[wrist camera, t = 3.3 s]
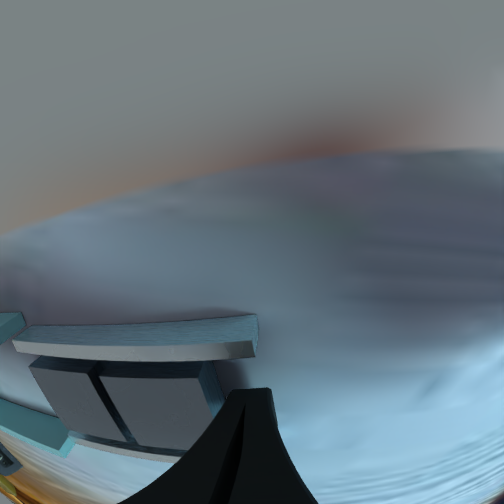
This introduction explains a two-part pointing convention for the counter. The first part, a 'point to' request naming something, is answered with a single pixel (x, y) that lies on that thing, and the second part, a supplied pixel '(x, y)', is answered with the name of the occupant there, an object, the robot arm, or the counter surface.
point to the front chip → (164, 399)
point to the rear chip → (80, 396)
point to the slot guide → (143, 356)
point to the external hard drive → (8, 462)
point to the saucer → (7, 485)
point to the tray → (26, 420)
